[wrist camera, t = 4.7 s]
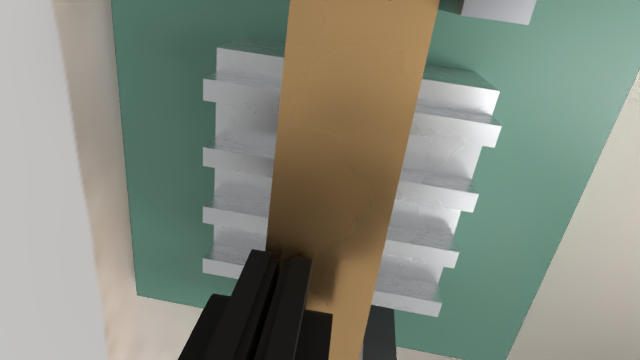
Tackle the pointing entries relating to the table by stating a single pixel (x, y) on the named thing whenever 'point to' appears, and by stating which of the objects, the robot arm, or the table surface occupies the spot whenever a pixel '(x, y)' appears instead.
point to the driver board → (489, 175)
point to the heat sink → (415, 179)
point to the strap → (344, 146)
